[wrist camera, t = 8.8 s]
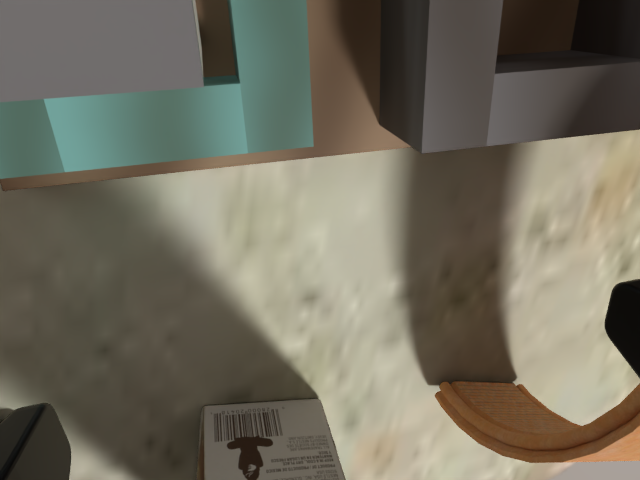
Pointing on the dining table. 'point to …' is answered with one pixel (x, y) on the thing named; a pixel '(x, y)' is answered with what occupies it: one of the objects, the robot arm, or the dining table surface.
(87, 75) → the plug
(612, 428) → the arch
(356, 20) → the dock
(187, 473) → the dining table surface
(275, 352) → the dining table surface
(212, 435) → the coffee box
